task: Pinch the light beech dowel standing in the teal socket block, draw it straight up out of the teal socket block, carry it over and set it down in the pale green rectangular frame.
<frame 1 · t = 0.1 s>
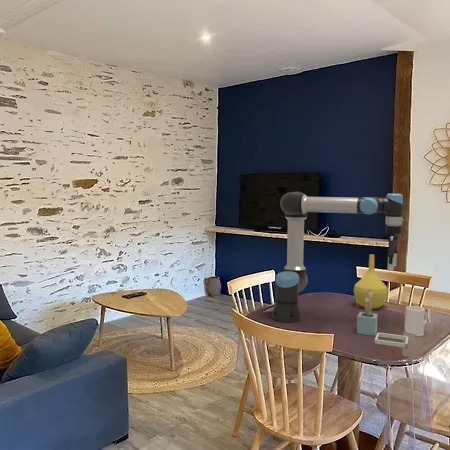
hand: (391, 268, 226), 28 cm above the table, fingers open, 13 cm apart
pale green rectangular frame: (391, 343, 200), on the table
mug: (416, 333, 215), on the table
dowel: (367, 332, 212), point 1 cm above the table, touching teal socket block
teal socket block: (366, 334, 213), on the table
vase: (370, 307, 261), on the table
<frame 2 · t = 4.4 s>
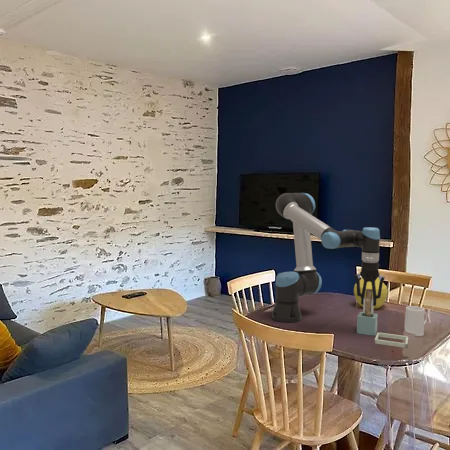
hand: (368, 311, 211), 11 cm above the table, fingers closed on dowel, 3 cm apart
dowel: (367, 332, 212), point 1 cm above the table, touching teal socket block, gripper
everything else where it was.
when the fingers open (12 cm above the table, at t = 10.1 s): dowel drops 2 cm, resting on pale green rectangular frame.
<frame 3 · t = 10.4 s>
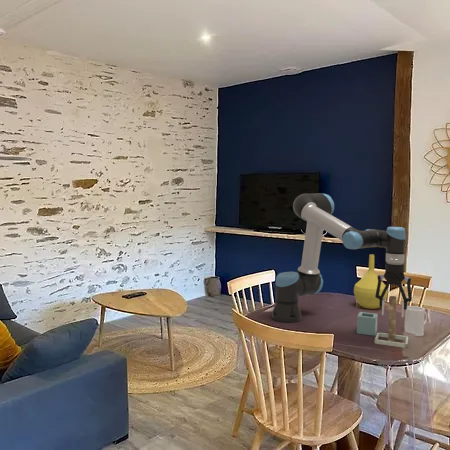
hand: (392, 315, 199), 13 cm above the table, fingers open, 7 cm apart
dowel: (391, 342, 200), point 1 cm above the table, touching pale green rectangular frame
everything else where it was.
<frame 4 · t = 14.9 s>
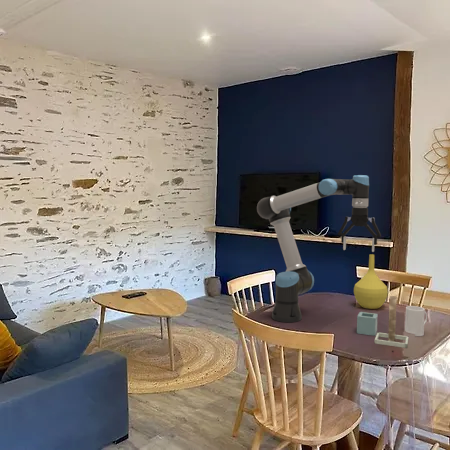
hand: (358, 250, 225), 37 cm above the table, fingers open, 13 cm apart
nothing on the table moved.
at the end: dowel inside the target area on the pale green rectangular frame (0.0 cm from its centre), point 0.8 cm above the pale green rectangular frame's base; the gripper is holding nothing; dowel touching pale green rectangular frame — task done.
